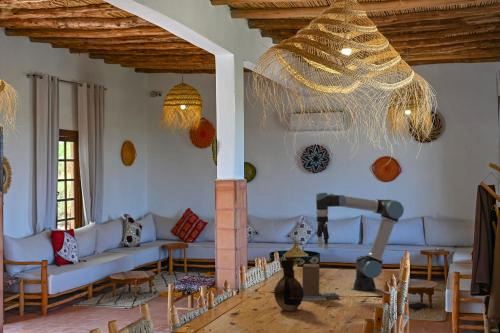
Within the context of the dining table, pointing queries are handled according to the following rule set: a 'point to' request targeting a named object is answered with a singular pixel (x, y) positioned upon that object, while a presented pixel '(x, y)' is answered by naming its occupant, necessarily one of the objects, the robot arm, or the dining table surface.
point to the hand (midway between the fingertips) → (323, 247)
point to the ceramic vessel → (288, 288)
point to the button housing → (331, 296)
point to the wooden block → (311, 280)
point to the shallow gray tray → (314, 297)
